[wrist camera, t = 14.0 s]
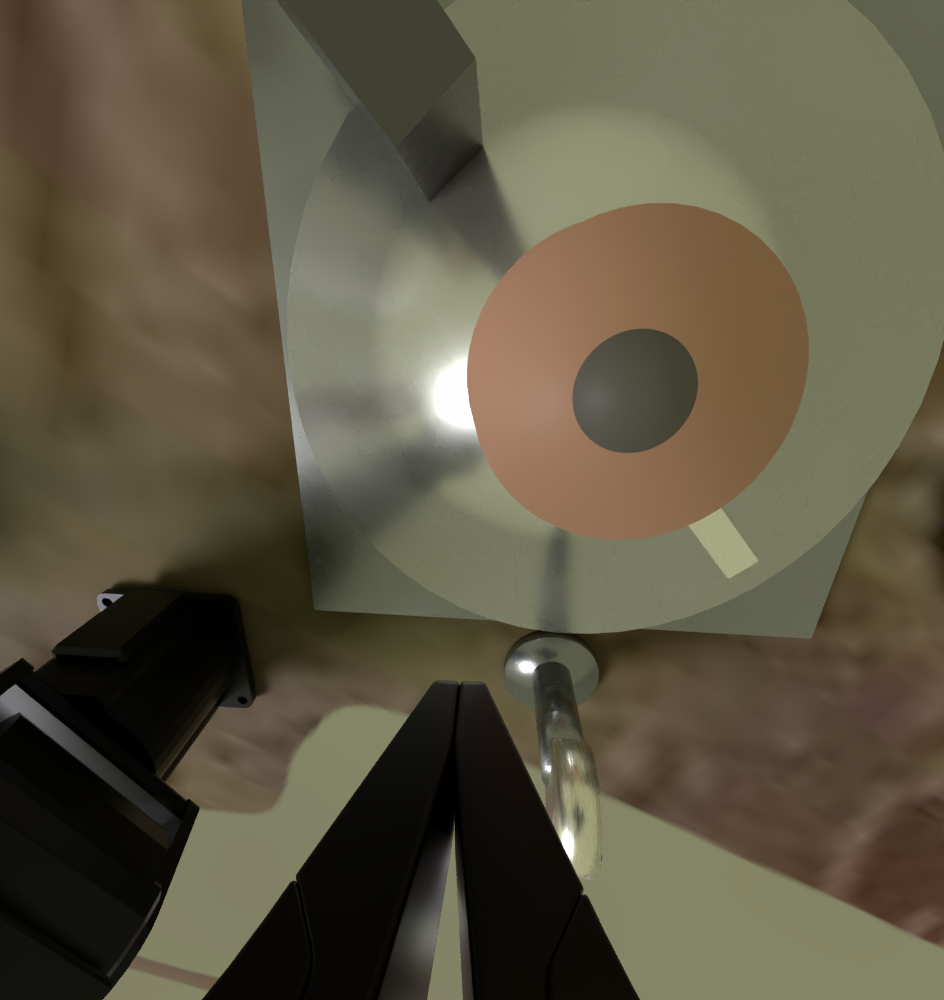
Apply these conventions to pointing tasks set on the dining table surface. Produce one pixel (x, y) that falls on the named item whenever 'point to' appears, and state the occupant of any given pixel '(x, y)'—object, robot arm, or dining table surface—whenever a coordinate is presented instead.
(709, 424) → the cover
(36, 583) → the dining table surface
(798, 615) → the base plate
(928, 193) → the turntable
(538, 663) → the silver chess pawn
